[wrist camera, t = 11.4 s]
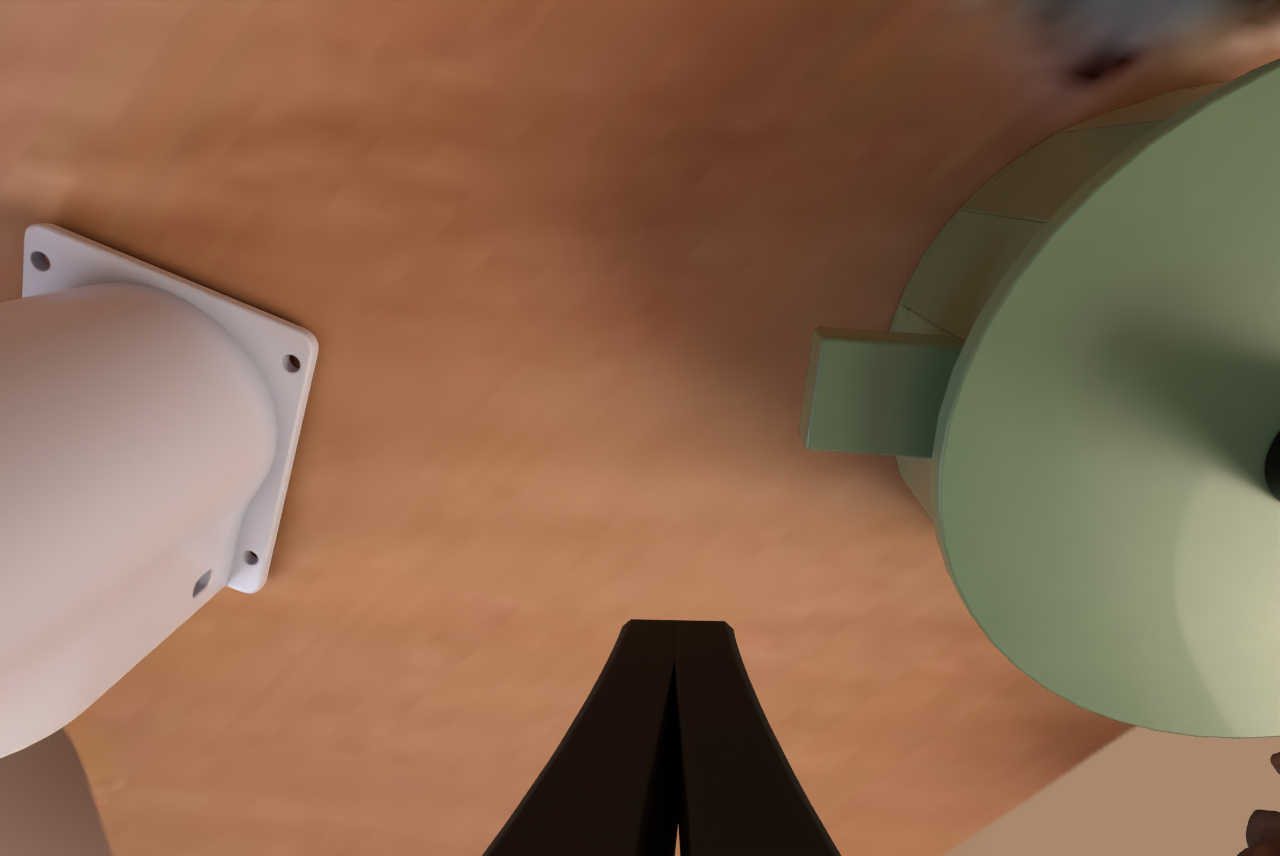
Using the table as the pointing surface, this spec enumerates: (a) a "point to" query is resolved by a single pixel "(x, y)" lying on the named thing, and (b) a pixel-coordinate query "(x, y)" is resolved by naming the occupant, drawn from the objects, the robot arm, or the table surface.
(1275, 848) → the pottery mug
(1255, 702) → the lid
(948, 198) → the table surface
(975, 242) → the pot
